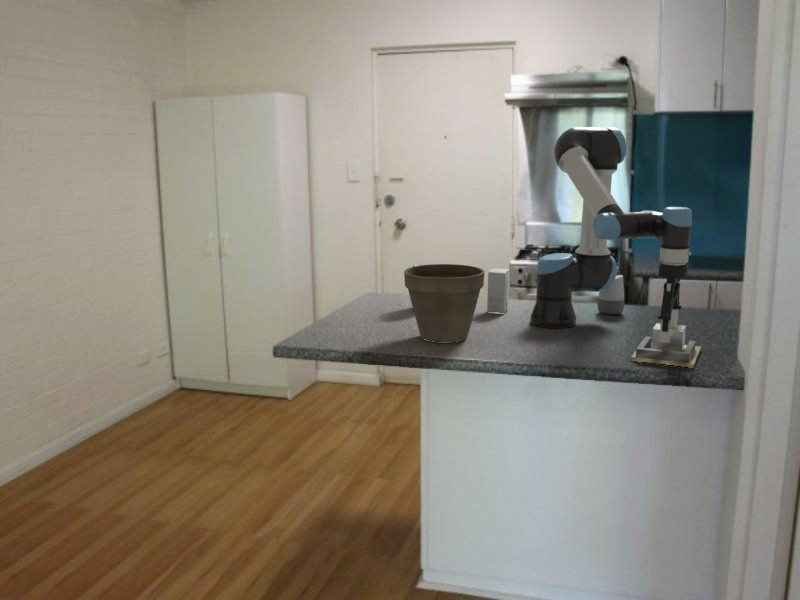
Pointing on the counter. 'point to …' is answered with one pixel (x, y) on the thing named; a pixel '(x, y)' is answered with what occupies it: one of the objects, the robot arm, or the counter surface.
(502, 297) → the skincare box
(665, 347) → the lock block
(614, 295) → the smart speaker
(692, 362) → the board
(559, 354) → the counter surface
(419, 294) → the plant pot
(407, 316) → the counter surface
